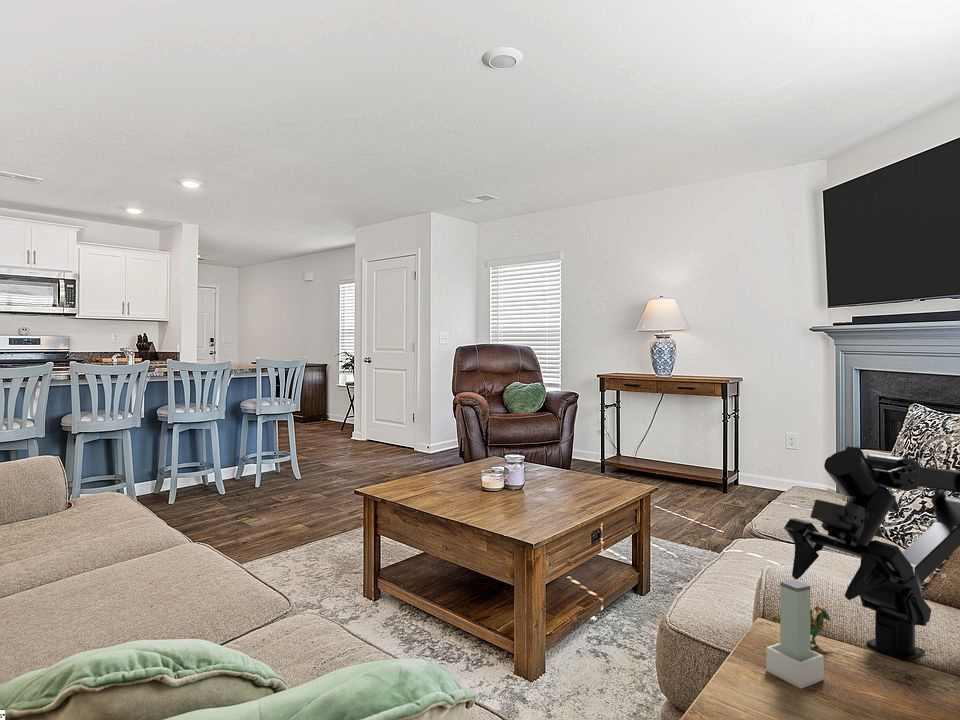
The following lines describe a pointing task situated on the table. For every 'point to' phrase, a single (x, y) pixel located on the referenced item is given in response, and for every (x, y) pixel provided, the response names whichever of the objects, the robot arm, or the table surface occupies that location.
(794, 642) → the sage bracket post
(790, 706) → the table surface
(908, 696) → the table surface
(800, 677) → the ceramic well
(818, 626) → the figurine
